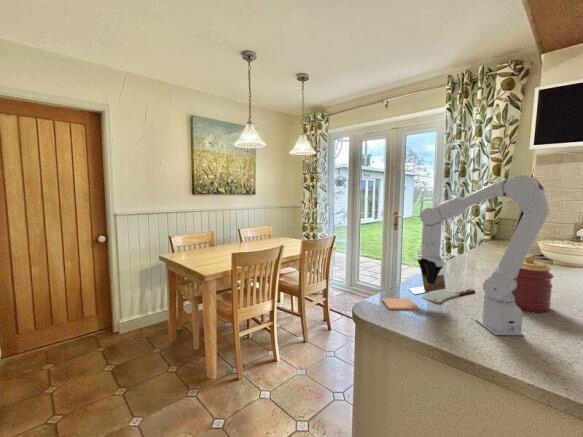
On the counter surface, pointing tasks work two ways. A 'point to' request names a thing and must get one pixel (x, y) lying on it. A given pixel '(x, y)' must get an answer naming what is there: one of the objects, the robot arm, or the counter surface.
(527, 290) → the canister
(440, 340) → the counter surface
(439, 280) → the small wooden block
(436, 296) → the kitchen cleaver
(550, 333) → the counter surface
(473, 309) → the counter surface
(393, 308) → the tile
